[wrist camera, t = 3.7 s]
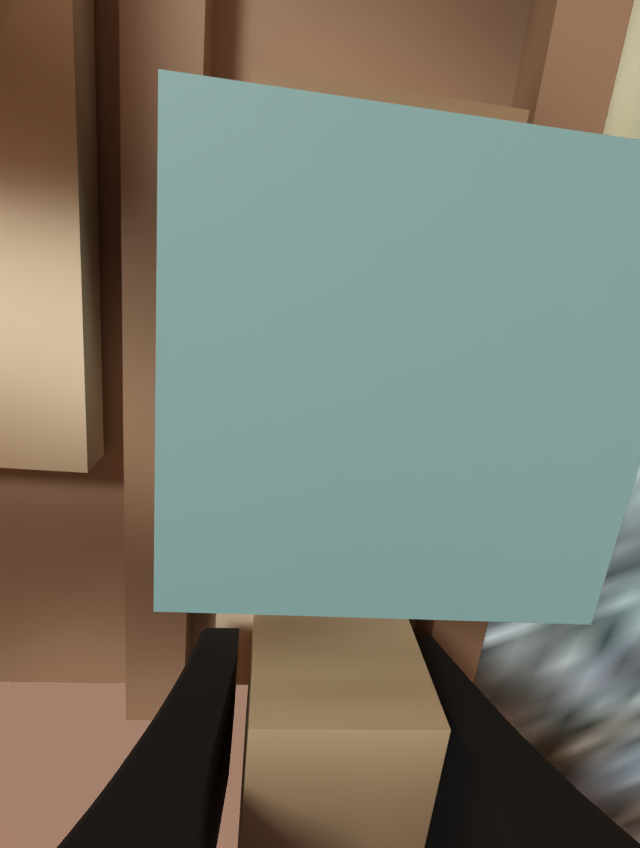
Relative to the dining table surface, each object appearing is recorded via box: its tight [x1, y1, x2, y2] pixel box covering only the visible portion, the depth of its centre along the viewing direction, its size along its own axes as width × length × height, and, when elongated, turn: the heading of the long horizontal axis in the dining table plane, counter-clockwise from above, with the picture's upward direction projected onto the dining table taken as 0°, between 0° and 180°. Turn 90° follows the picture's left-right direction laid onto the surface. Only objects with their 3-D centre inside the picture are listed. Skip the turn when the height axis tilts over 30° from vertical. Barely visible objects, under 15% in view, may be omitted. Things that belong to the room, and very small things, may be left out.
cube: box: [154, 69, 640, 625], centre depth 7 cm, size 4×4×4 cm
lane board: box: [0, 0, 634, 720], centre depth 9 cm, size 18×14×2 cm
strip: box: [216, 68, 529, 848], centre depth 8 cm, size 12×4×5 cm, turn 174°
